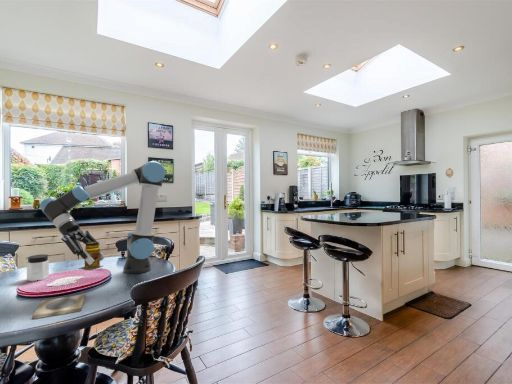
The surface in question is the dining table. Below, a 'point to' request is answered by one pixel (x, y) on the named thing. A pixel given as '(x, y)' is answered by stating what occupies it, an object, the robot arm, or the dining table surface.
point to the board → (59, 306)
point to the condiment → (94, 252)
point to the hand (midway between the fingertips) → (97, 260)
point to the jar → (37, 267)
